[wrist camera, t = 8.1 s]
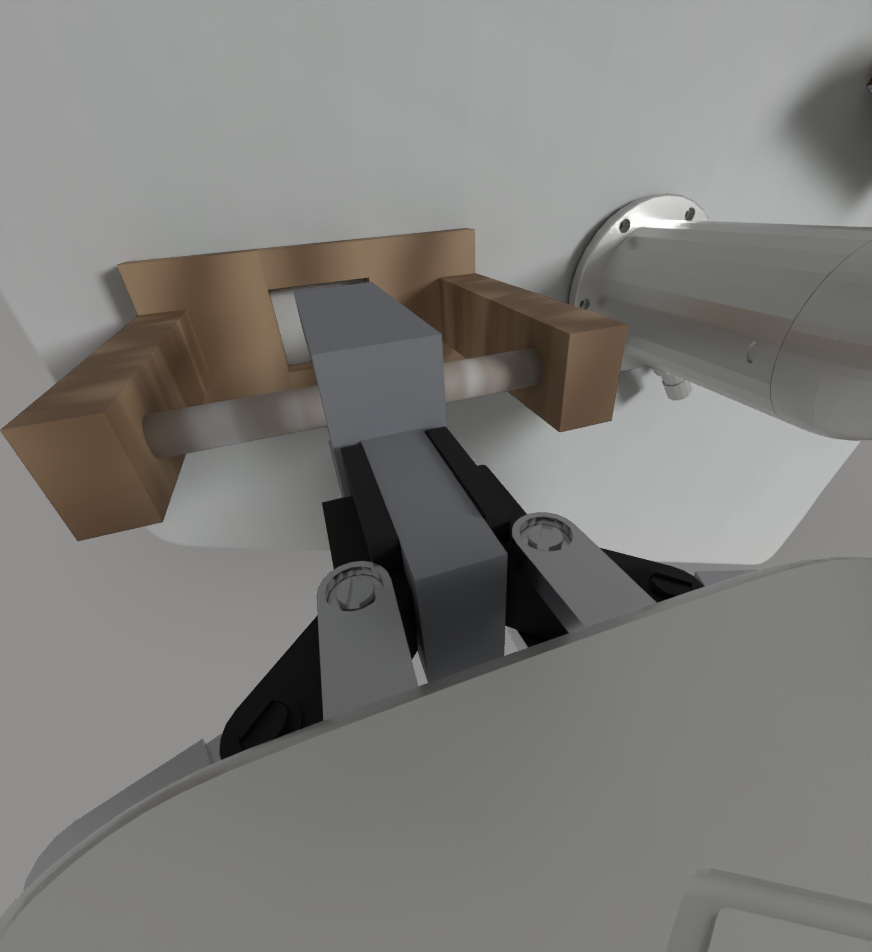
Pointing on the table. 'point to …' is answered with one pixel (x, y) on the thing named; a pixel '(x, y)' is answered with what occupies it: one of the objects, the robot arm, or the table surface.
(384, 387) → the stepped gray bar
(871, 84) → the food container
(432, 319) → the rack
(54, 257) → the table surface
